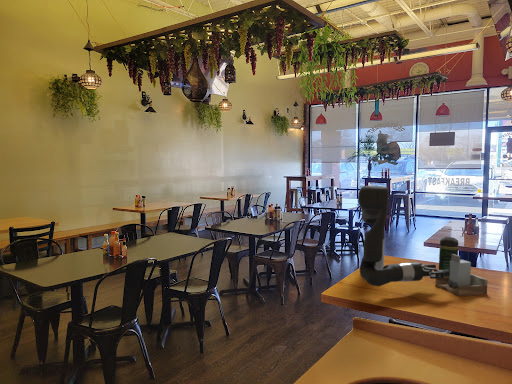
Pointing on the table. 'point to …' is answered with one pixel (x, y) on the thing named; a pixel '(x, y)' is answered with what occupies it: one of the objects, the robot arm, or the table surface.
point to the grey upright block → (459, 272)
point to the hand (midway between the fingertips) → (442, 269)
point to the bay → (476, 286)
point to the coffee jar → (447, 252)
